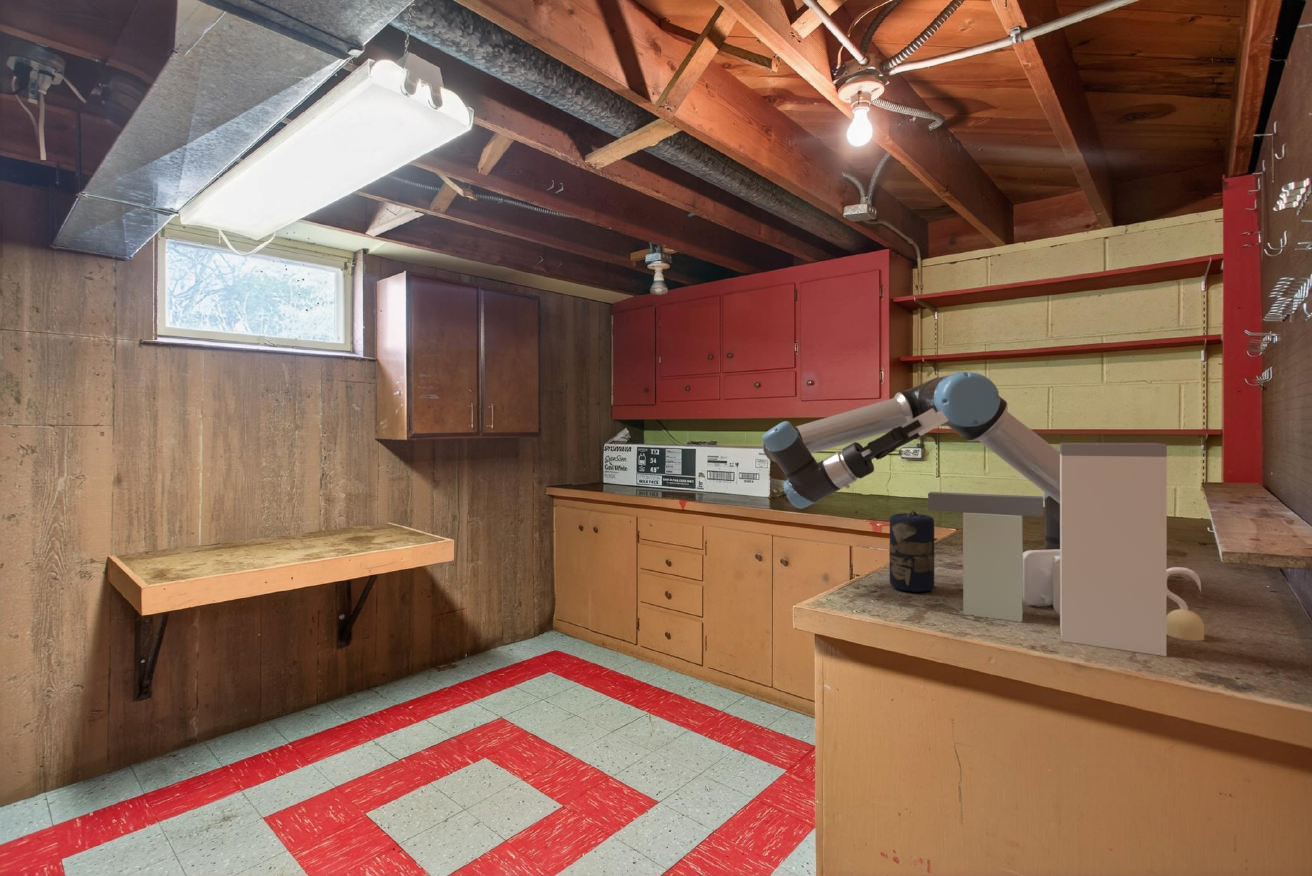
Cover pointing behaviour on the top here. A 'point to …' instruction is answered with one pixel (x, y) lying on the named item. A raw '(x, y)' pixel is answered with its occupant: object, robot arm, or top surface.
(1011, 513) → the bar
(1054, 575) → the cable organizer
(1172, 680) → the top surface
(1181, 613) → the hook
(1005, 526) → the shelf
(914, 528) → the canister
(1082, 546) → the socket tower
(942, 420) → the robot arm
